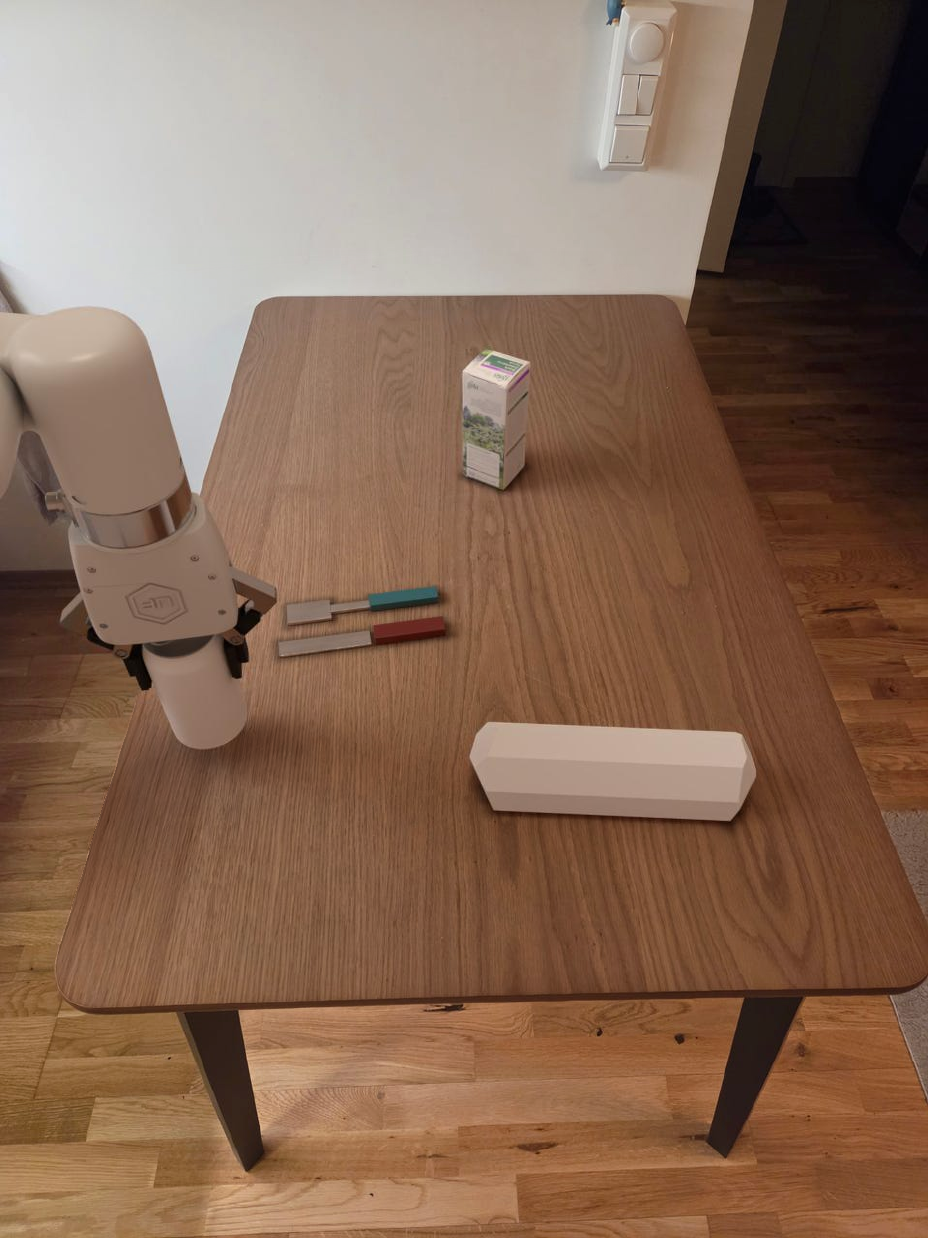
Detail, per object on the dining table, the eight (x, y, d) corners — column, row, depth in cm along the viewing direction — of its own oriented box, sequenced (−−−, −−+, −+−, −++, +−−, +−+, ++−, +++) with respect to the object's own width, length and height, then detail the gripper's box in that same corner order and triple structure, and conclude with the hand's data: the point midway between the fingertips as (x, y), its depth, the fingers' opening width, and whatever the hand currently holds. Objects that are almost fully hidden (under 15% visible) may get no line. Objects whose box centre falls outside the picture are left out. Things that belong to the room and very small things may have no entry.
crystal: (747, 708, 75) (472, 697, 76) (772, 744, 68) (469, 731, 69) (736, 784, 77) (469, 772, 78) (760, 827, 70) (466, 813, 71)
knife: (279, 657, 84) (278, 651, 83) (278, 644, 85) (277, 637, 84) (445, 635, 86) (445, 629, 85) (442, 622, 87) (442, 615, 86)
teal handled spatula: (288, 625, 86) (286, 619, 86) (287, 607, 88) (285, 601, 88) (439, 606, 88) (439, 600, 88) (435, 588, 90) (435, 582, 89)
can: (170, 701, 77) (133, 608, 68) (243, 685, 78) (217, 592, 69) (175, 760, 72) (137, 670, 64) (253, 742, 74) (226, 651, 65)
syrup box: (525, 466, 104) (533, 358, 93) (502, 493, 101) (507, 384, 90) (485, 451, 106) (487, 344, 95) (460, 477, 103) (460, 369, 92)
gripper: (-17, 553, 53) (76, 722, 66) (266, 523, 55) (302, 693, 69) (5, 478, 58) (88, 649, 71) (264, 453, 60) (298, 624, 74)
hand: (192, 670), depth 70 cm, fingers closed on can, 6 cm apart
